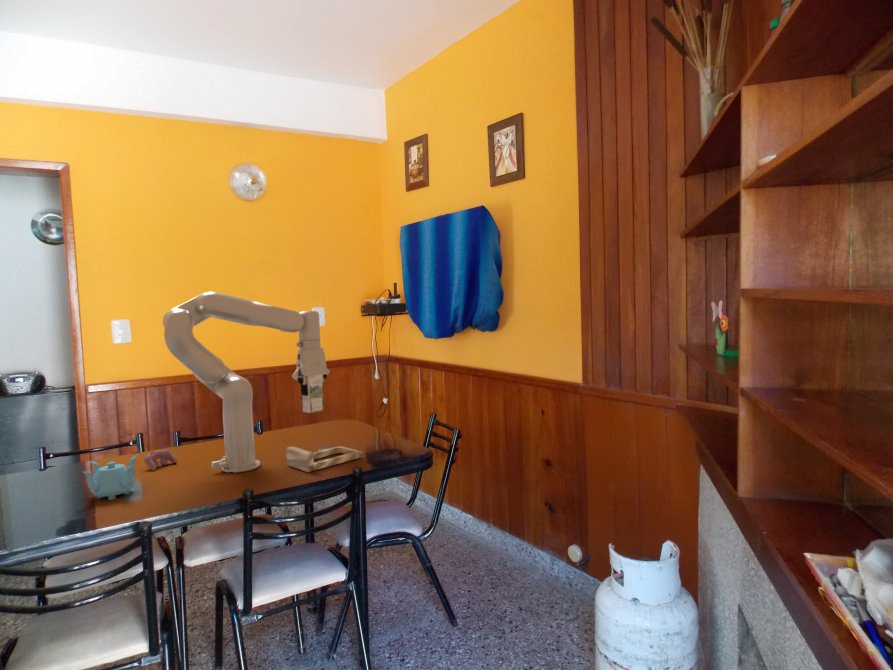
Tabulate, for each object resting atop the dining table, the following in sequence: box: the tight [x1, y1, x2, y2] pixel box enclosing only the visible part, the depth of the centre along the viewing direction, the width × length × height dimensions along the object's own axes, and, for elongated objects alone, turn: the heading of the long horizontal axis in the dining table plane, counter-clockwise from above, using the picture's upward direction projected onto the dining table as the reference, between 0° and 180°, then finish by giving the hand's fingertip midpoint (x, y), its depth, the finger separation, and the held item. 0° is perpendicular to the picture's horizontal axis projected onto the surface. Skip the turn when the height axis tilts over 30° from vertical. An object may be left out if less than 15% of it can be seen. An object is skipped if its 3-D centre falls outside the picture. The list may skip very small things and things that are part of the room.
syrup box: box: [300, 374, 324, 414], centre depth 209 cm, size 6×6×14 cm
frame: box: [285, 445, 363, 473], centre depth 199 cm, size 22×13×6 cm, turn 135°
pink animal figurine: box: [143, 448, 178, 472], centre depth 202 cm, size 10×5×7 cm, turn 153°
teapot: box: [82, 454, 138, 501], centre depth 172 cm, size 13×13×10 cm
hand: (312, 393), depth 209 cm, fingers closed on syrup box, 5 cm apart
